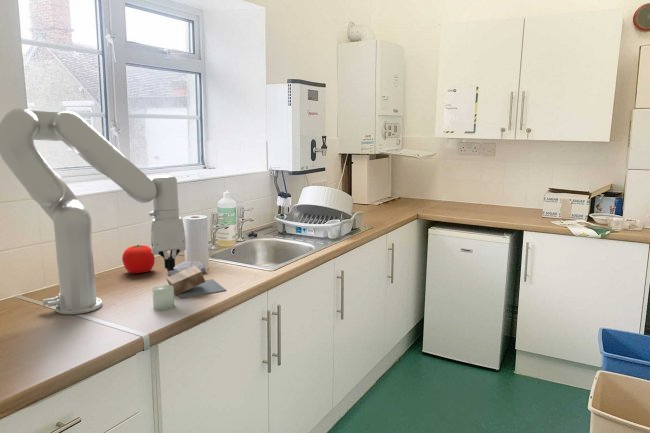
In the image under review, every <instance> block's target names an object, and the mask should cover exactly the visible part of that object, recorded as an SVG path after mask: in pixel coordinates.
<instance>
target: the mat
mask: <svg viewBox="0 0 650 433" xmlns="http://www.w3.org/2000/svg"><path fill="white" fill-rule="evenodd" d="M204 280H205V282H204V283H202V284H200V285H198V286H195V287H193V288H191V289H189V290H187V291H184V292H182V293H180V294H178V295H177V296H178V297H179V298H180V299H186V298H193V297H198V296H204V295H209V294H216V293H222V292H227V289H226V288H224V287H223V286H222V285H220V284H219V283H218V282H217V281H216V280H214V279H212V278H211V279H204Z"/></svg>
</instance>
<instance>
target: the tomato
mask: <svg viewBox="0 0 650 433" xmlns="http://www.w3.org/2000/svg"><path fill="white" fill-rule="evenodd" d="M151 251H152V247H150V246H149V245H145V244H142V245H141V244H137V245H131V246H129V247H127V248H126V249H125V250H124V251H123V253H122V257H121V260H122V263H123V267H124V268H125V270H126V271H128V272H129V273H131V274H144V273H146V272H150V270H152V269H153V268H154V265H155V263H156V262H155V258H156V257H155V254H152V253H151Z"/></svg>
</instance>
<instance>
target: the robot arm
mask: <svg viewBox="0 0 650 433" xmlns="http://www.w3.org/2000/svg"><path fill="white" fill-rule="evenodd" d="M35 141H48V142H49V141H51V142H52V141H55V142H59V141H60V142H63V144H65V145H66V146H67V147H69V148H70V149H71V150H72V151H74V152H75V153H76V155H78V156H79V157H80V158H82V160H84V161H85V162H87V164H88V165H90V166H91V167H92V168H93V169H95V170H96V171H97V172H99V173H101V174H103V175H104V176H105V177H107V178H108V179H110V180H111V181H112V182H113V183H115V184H116V185H117V186H118V187H119V188H120V189H121V190H123V191H124V192H126V195H127V196H128V197H129V198H130V199H132V200H134V201H135V202H137V203H140V204H146V203H149V202H152V201H153V202H152V203H153V210H152V211H151V212H149V213H148V214H149V217H153V219H152V220H151V221H152V222H151V228H150V233H151V235H150V244H151V249H152V251H151V253H152V254H154V256H155V255H157V256H161V257H162V258H163V262H164V268H165V269H166V271H167V270H168V271H171V270H172V271H173V270H174V267H175V265H176V260H175V259H176V257H177V256H178V254H179V253H180V252H184V251H186V249H187V247H186V246H187V240H186V239H187V238H186V233H185V226H184V221H183V218H182V217H181V216H180V210H179V208H180V207H179V195H178V194H179V192H178V179H177V178H176V176H174V175H170V174H169V175H167V174H165V175H164V174H163V175H162V174H161V175H155V176H147V174H145V173H144V172H143V171H142V170H141V169H140V168H138V167H137V166H136V165H135V164H134V163H132V161H131V160H129V158H127V157H126V156H125V155H124V154H123V153H122V152H121V151H120V150H118V149H117V147H115V146H114V145H113V144H112V143H111V142H110V141H108V140H107V139H106V138H105V137H104V136H103V135H101V133H100V132H99V131H97V130H96V129H95V128H94V127H93V126H92V125H90V124H89V122H87V120H85V119H84V118H83V117H82V116H80V115H79V114H78V113H76V112H74V111H62V112H61V111H45V110H44V111H42V110H31V109H30V110H29V109H27V108H19V107H18V108H16V107H15V108H13V109H11V110H9V111H7V112H6V114H5V115H4V116H3V117H2V119H1V120H0V157H1V159H2V161H3V162H4V163H5V165H6V166H7V167H8V168H9V170H10V172H12V173H13V175H14V176H15V177H16V179H17V181H19V183H21V185H22V186H23V187H24V188H25V190H26V192H27V193H28V195H29V196H30V197H31V199H32V200H33V201H35V202H36V203H37V204H38V205H39V206H40V208H41V209H42V210H43V211H44V212H45V214H46V215H47V216H48V217H49V218H50V219H51V220H52V222H53V229H54V240H55V241H54V242H55V254H56V262H57V263H56V264H57V272H58V283H59V292H58V295H56V296H54V297H51V298H50V297H49V298H43V299H42V304H43V306H48V307H53V306H55V312H57V313H58V314H61V315H80V314H84V313H85V314H86V313H89V312H90V313H91V312H93V311H96V310H98V309H99V308H101V307H102V306H103V300H102V299H101V298H99V297H97V291H96V279H95V276H96V275H95V267H94V264H95V263H94V253H93V236H92V233H93V232H92V231H93V226H92V218H91V214H90V212H89V211H88V209H87V208H86V206H84V205H83V203H82V202H81V200H79V198H78V197H77V196H76V194H74V192H73V191H72V190H71V188H70V187H69V186H68V184H67V183H66V182H65V181H64V180H63V178H62V176H60V175H59V174H58V173H57V172H55V171H54V170H53V168H52V167H51V166H50V165H49V164H48V162H47V161H46V159H45V158H44V156H42V154H41V153H40V152H39V151H38V149H37V147H36V145H35ZM168 251H170V252H169V254H168Z"/></svg>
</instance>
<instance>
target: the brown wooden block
mask: <svg viewBox="0 0 650 433" xmlns="http://www.w3.org/2000/svg"><path fill="white" fill-rule="evenodd" d="M205 280H206V279H205V277H204V273H202V271H201V270H199V269H198V268H197V267H196V266H192V267H190V268H188V269H185V270H183V271H181V272H178V273H176V274H174V275H172V276H171V275H169V276H167V277H166V281H167V283H168V284H167V285H171V286H173V288H174V295H176V296H178V294H180V293H182V292H184V291H187V290H189V289H191V288H193V287H195V286H198V285H200V284H202V283H204V282H205Z"/></svg>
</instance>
